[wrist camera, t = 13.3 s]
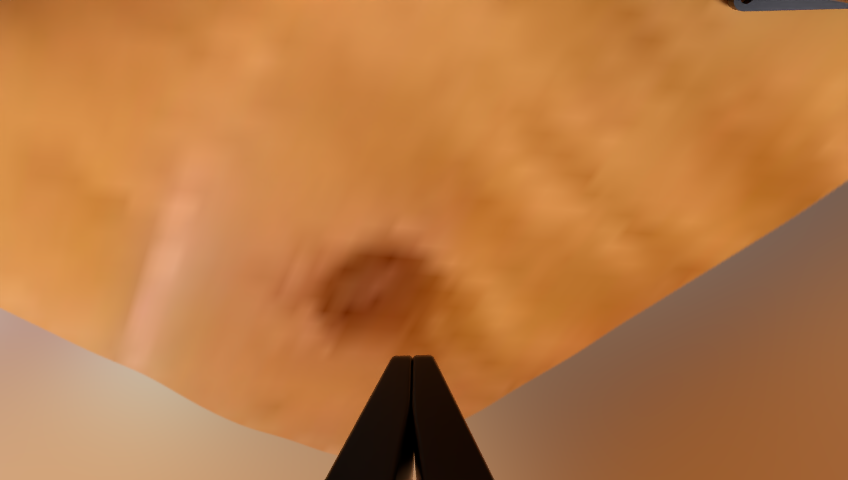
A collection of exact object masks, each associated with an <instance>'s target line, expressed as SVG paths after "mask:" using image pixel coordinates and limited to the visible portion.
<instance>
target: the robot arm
mask: <svg viewBox="0 0 848 480" xmlns="http://www.w3.org/2000/svg"><path fill="white" fill-rule="evenodd" d="M728 4H729V6H730V7H731V8H732V9H735V10H739V11H774V10H813V9H848V0H744V1H743V2H741V0H728ZM414 456H415V470H416V480H494V478H493V476H492V474H491V472H490V470H489V468H488V466H487V464H486V462H485V460H484V458H483V457H482V454H481V452H480V450H479V448H478V446H477V444H476V442H475V440H474V438H473V436H472V434H471V432H470V430H469V428H468V426H467V424H466V422H465V420H464V418H463V416H462V414H461V411H460V409H459V407H458V405H457V403H456V401H455V399H454V397H453V395H452V393H451V391H450V389H449V387H448V385H447V383H446V381H445V379H444V377H443V375H442V373H441V371H440V369H439V367H438V365H437V363H436V361H435V359H434V357H433V356H431V355H416V356H414V357H413V359H412V357H411V356H394V357H392V359H391V360H390V362H389V364H388V365H387V367H386V369H385V371H384V373H383V374H382V376H381V378H380V380H379V382H378V384H377V385H376V387H375V389H374V391H373V393H372V395H371V396H370V398H369V400H368V402H367V404H366V406H365V407H364V409H363V411H362V413H361V415H360V417H359V418H358V420H357V422H356V424H355V426H354V428H353V429H352V431H351V433H350V435H349V437H348V439H347V440H346V442H345V444H344V446H343V448H342V450H341V451H340V453H339V455H338V457H337V459H336V460H335V462H334V464H333V466H332V468H331V470H330V471H329V473H328V475H327V477H326V479H325V480H412V478H413V468H414Z"/></svg>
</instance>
